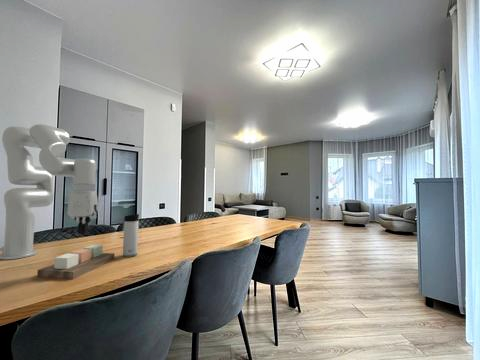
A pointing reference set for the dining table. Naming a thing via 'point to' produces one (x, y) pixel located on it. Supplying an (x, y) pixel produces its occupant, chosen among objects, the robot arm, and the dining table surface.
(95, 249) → the sage key
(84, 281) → the dining table surface
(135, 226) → the travel mug
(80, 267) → the walnut panel
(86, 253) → the terracotta key
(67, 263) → the cream key
